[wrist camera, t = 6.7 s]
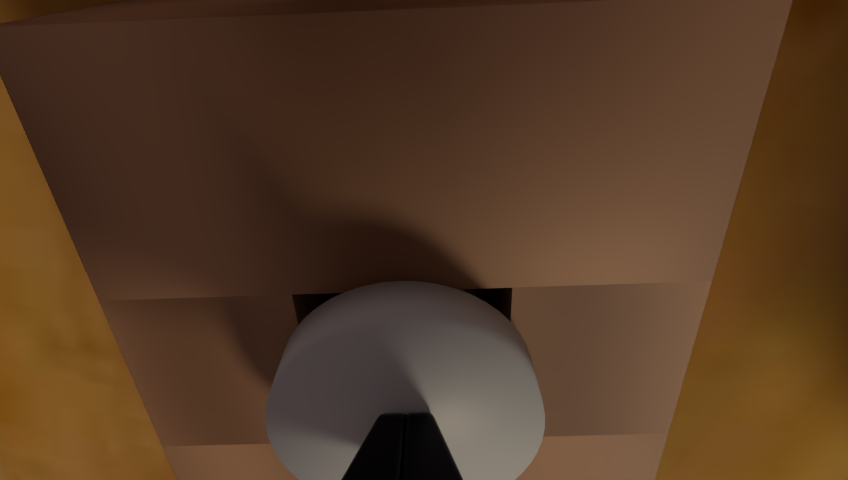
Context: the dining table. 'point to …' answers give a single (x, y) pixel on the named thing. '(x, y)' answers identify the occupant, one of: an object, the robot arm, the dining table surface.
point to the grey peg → (406, 380)
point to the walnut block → (398, 190)
